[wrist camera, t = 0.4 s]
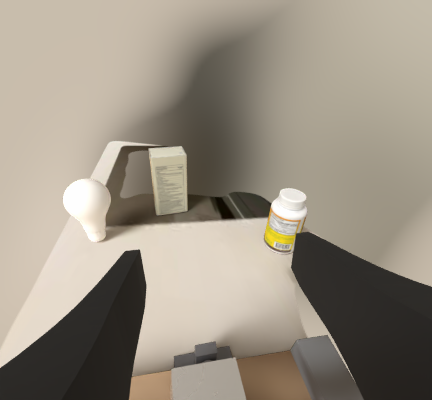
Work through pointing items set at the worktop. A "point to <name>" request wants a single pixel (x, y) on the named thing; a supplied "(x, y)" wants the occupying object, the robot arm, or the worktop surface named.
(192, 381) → the steel block
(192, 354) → the stand
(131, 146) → the worktop surface
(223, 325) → the worktop surface
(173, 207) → the skincare box
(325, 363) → the beam
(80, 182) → the lightbulb
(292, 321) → the worktop surface
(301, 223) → the supplement bottle
